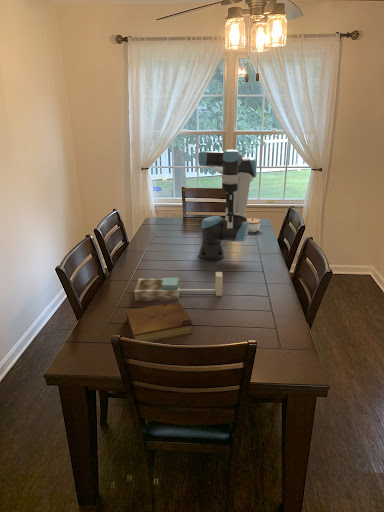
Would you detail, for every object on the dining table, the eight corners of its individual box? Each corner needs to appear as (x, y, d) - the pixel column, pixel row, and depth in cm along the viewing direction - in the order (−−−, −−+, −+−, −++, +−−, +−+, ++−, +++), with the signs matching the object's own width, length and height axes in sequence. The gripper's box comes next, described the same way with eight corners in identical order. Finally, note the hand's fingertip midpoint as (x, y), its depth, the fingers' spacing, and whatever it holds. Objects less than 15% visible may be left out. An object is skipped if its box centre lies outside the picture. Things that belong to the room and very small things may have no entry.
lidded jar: (250, 234, 257) (251, 221, 253) (241, 229, 266) (242, 217, 262) (262, 231, 261) (263, 218, 258) (253, 227, 270) (254, 215, 267)
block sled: (221, 289, 182) (221, 270, 178) (222, 297, 174) (222, 277, 171) (164, 289, 182) (163, 270, 179) (162, 297, 175) (161, 278, 171)
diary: (178, 312, 165) (178, 300, 163) (192, 335, 148) (192, 323, 146) (126, 321, 158) (125, 309, 156) (134, 346, 142) (134, 333, 139)
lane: (179, 287, 185) (179, 278, 183) (178, 300, 173) (178, 291, 171) (139, 287, 185) (138, 278, 183) (135, 300, 173) (134, 291, 171)
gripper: (221, 177, 195) (220, 216, 203) (224, 188, 172) (223, 231, 180) (235, 177, 195) (234, 216, 203) (240, 188, 172) (238, 231, 180)
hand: (228, 223), depth 192 cm, fingers open, 13 cm apart
